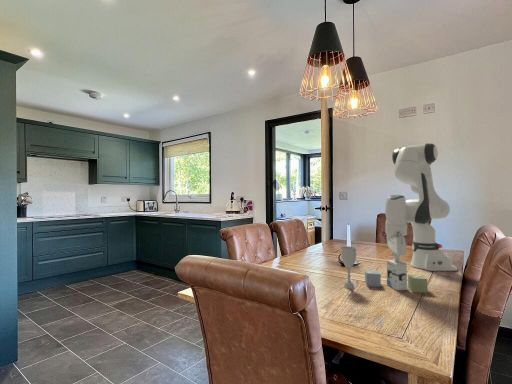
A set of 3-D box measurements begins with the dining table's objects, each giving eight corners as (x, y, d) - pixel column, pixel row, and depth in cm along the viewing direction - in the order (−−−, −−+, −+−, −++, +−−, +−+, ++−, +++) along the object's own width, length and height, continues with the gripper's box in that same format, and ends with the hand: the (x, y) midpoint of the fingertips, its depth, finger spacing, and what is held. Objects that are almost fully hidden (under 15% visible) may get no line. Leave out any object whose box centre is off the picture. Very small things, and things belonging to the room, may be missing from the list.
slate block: (378, 283, 138) (378, 270, 138) (380, 287, 132) (380, 273, 132) (364, 282, 139) (364, 269, 139) (366, 286, 133) (366, 273, 133)
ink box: (386, 284, 135) (386, 259, 135) (396, 284, 136) (396, 259, 136) (396, 290, 127) (396, 264, 127) (407, 290, 127) (407, 263, 127)
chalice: (357, 285, 134) (357, 246, 134) (357, 290, 128) (357, 249, 128) (341, 283, 137) (340, 246, 137) (340, 288, 130) (340, 248, 130)
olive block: (422, 288, 129) (422, 274, 129) (427, 293, 124) (427, 278, 124) (408, 287, 131) (407, 274, 131) (411, 292, 125) (411, 277, 125)
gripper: (410, 234, 120) (410, 267, 120) (398, 228, 140) (398, 256, 140) (393, 233, 122) (394, 266, 122) (384, 227, 142) (384, 255, 142)
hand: (396, 261), depth 131 cm, fingers closed
